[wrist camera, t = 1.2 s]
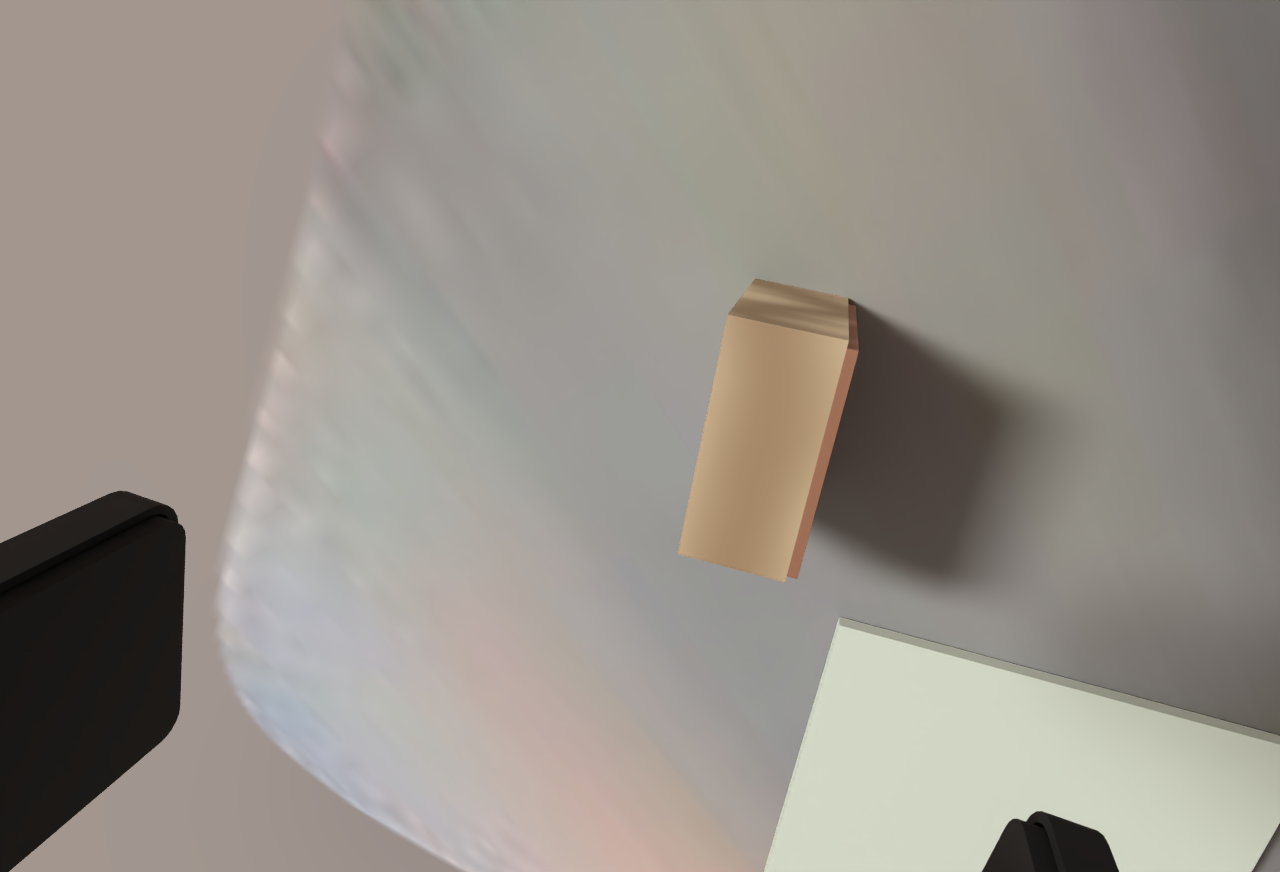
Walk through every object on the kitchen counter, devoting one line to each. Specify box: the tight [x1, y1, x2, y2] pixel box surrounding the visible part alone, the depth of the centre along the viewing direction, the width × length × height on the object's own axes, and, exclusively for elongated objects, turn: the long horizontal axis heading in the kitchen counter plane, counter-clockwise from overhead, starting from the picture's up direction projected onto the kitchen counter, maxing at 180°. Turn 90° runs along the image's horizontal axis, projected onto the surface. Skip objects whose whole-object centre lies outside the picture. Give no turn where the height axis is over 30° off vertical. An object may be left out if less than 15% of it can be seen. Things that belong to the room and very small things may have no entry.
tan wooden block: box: [678, 279, 859, 582], centre depth 25 cm, size 3×7×7 cm, turn 170°
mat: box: [764, 617, 1280, 872], centre depth 32 cm, size 16×16×1 cm
